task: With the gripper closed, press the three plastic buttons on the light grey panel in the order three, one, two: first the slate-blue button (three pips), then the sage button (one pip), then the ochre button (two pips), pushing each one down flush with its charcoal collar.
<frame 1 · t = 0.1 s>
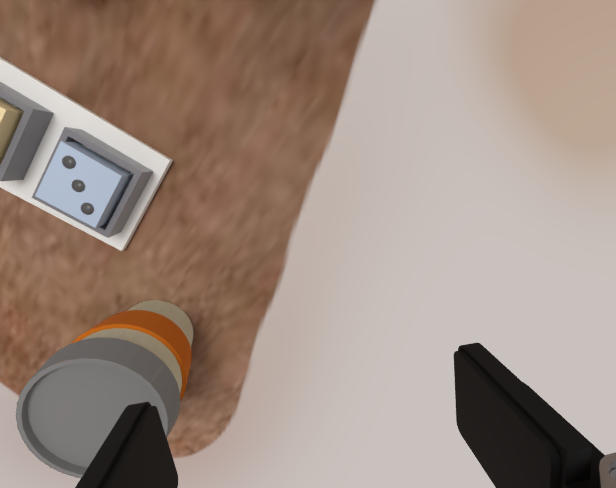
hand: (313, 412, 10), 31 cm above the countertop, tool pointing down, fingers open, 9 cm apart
button panel: (7, 126, 35), on the countertop
reusable coffee cup: (157, 331, 43), on the countertop
button 3: (85, 184, 33), point 4 cm above the countertop, slide at 0.0 cm
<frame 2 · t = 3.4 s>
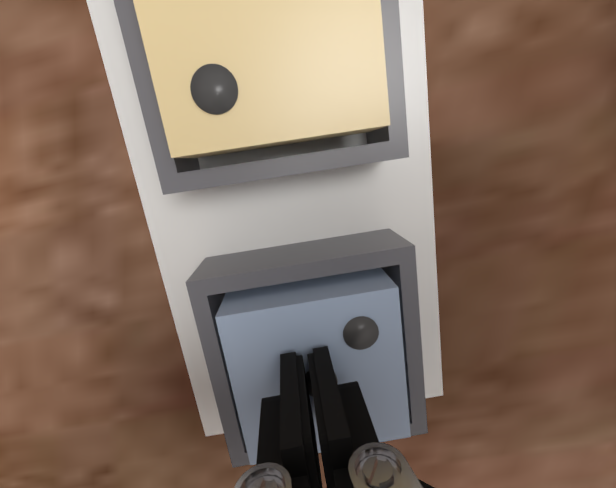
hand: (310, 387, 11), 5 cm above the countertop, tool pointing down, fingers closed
button panel: (270, 72, 14), on the countertop
button 2: (264, 34, 10), point 4 cm above the countertop, slide at 0.0 cm
button 3: (316, 360, 13), point 4 cm above the countertop, slide at 0.5 cm, touching gripper
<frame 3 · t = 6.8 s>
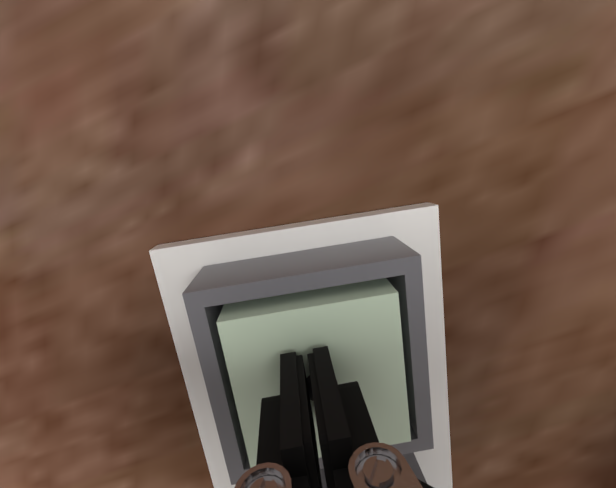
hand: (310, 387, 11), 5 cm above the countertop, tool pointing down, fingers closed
button 1: (317, 365, 13), point 3 cm above the countertop, slide at 1.1 cm, touching gripper
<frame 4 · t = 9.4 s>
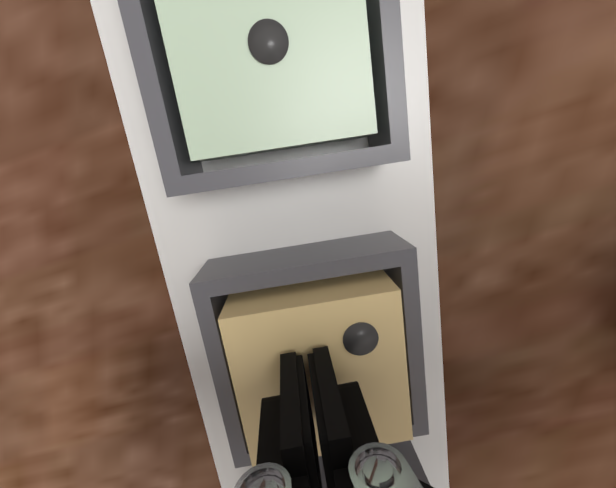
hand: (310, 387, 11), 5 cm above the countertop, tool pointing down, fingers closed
button panel: (311, 317, 17), on the countertop
button 2: (319, 363, 13), point 4 cm above the countertop, slide at 0.5 cm, touching gripper
button 1: (270, 54, 11), point 3 cm above the countertop, slide at 1.5 cm
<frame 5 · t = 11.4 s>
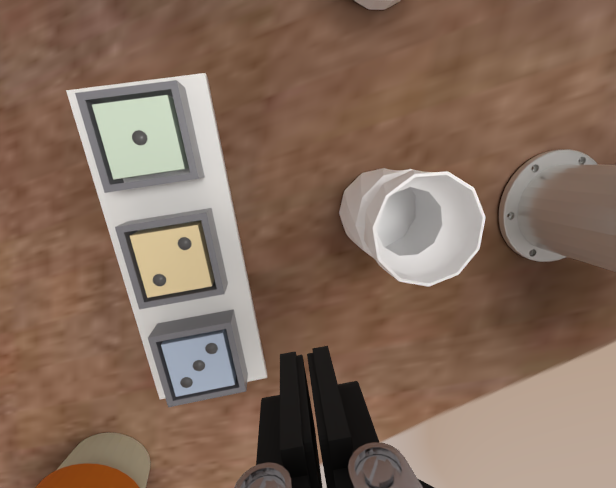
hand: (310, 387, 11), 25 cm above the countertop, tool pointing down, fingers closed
button panel: (182, 250, 35), on the countertop
button 2: (175, 258, 32), point 3 cm above the countertop, slide at 1.5 cm
reusable coffee cup: (111, 462, 40), on the countertop
button 1: (144, 138, 29), point 3 cm above the countertop, slide at 1.5 cm
vase: (377, 208, 36), on the countertop
button 3: (201, 358, 35), point 3 cm above the countertop, slide at 1.5 cm
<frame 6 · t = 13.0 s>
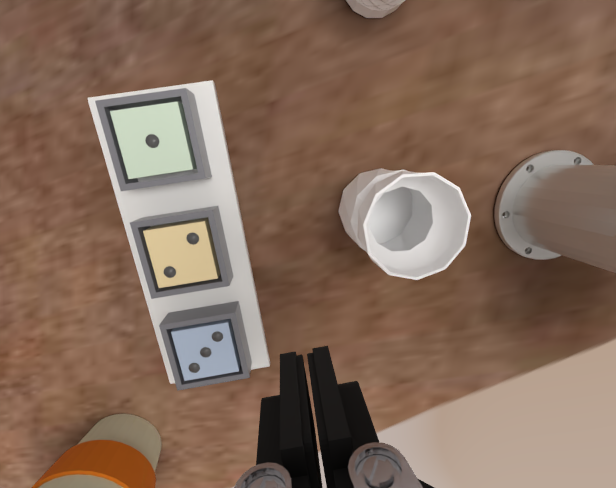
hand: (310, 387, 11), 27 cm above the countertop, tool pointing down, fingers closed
button panel: (191, 245, 37), on the countertop
button 2: (184, 252, 35), point 3 cm above the countertop, slide at 1.5 cm
reusable coffee cup: (125, 442, 43), on the countertop
button 1: (157, 141, 32), point 3 cm above the countertop, slide at 1.5 cm
vase: (375, 207, 38), on the countertop
button 3: (208, 346, 37), point 3 cm above the countertop, slide at 1.5 cm
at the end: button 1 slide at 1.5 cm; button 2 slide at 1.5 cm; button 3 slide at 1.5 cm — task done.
